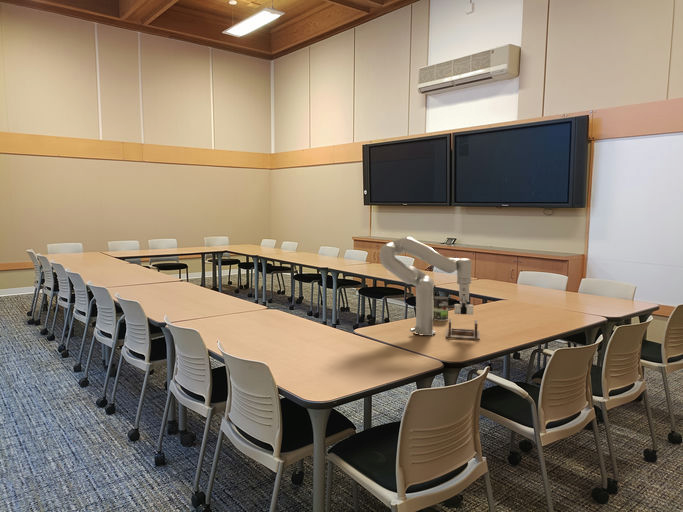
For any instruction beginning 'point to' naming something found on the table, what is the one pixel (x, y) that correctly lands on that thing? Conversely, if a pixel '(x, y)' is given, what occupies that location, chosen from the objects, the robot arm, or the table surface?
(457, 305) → the paper towel roll
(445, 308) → the coffee can
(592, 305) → the table surface
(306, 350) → the table surface
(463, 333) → the roll holder
